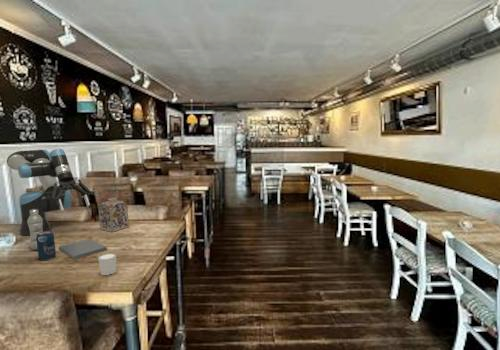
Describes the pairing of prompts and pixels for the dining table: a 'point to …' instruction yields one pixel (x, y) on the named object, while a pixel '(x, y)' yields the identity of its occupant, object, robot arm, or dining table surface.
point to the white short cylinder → (107, 264)
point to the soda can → (46, 245)
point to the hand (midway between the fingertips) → (75, 208)
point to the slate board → (82, 248)
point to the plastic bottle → (34, 227)
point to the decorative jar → (113, 215)
